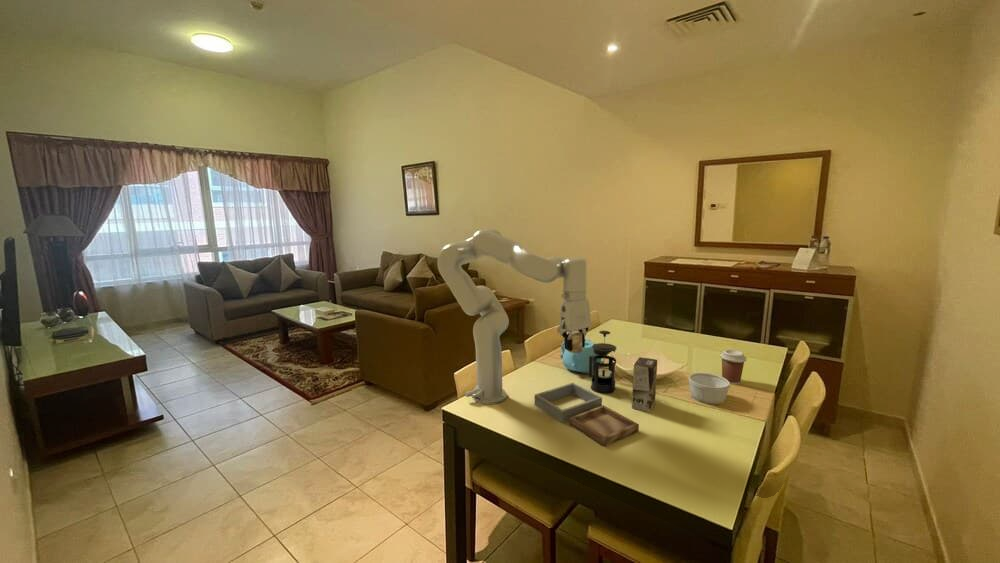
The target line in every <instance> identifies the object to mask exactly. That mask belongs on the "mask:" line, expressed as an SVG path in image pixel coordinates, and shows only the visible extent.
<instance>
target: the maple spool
mask: <svg viewBox="0 0 1000 563" xmlns="http://www.w3.org/2000/svg"><path fill="white" fill-rule="evenodd" d="M567 334H568V331H567ZM571 339H572V351H569V350H567V351H568V352H571V353H579V352H582V332H579V331H578V330H577V331H573V332H572V335H571Z"/></svg>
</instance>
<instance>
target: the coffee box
mask: <svg viewBox="0 0 1000 563" xmlns="http://www.w3.org/2000/svg"><path fill="white" fill-rule="evenodd" d="M632 372H633V376H632V396H631V397H632V398H631V409H635V410H639V411H643V412H646V413H650V412H651V411H652V410H653V407H654V405H655V403H656V394H657V375H658V374H657V373H658V359H654V358H648V357H641V356H639V357H638V358H637V360H636V361H635V362H634V364H633V371H632Z"/></svg>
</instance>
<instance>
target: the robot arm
mask: <svg viewBox="0 0 1000 563" xmlns="http://www.w3.org/2000/svg"><path fill="white" fill-rule="evenodd" d="M484 257H488V258H491V259H493V260H495V261H498V262H500V263H503V264H506V265H508V266H510V267H511V268H512V269H513V270H515V271H517V272H518V273H520V274H522V275H523V276H526V277H528V278H531V279H533V280H535V281H538V282H541V283H548V284H549V283H550V284H551V283H553V282H555V281H556V280H557V279H560V278H561V279H562V292H563V293H562V294H561V298H562V300H561V305H560V312H559V313H560V314H559V325H558V327H557V329H556V332H557V333H558V334H560V336H561V337H562V338H563V339H564V341H563V342H564V349H565V350H569V351H572V339H571V335H572V332H573V331H579V332H582V347H585V339H586V337H585V336H587V332H588V331H589V328H590V327H591V326H592V321H591V308H590V303H589V298H587V260H586V259H585V258H583V257H562V256H549V257H547V258H544V257H541V256H539V255H536V254H533V253H531V252H529V251H528V250H526V249H524V247H523V246H522V244H521V243H520V242H519V241H517V240H514V239H511V238H508V237H506V236H504V235H502V234H501V232H500V231H499V230H497V229H495V228H485V229H480V230H477V231H476V232H475V233H474V234H473V235H472V237H470V238H467V239H465V240H461V241H455V242H452V243H449V244H446V245H445V246H443V248H442V249H441V250H440V252H439V253H438V256H437V261H436V262H437V270H438V272H439V274H440V276H441V277H442V279H443V281H444V282H445V283H446V286H448V288H449V290H450V291H451V293H452V295H453V297H454V298H455V300H456V302H457V303H458V304H459V306H460V307H461V308H460V309H462V312H464V313H465V314H466V315H468V316H476V315H478V314H479V315H480V317H478V319H477V320H476V321H475V322H474V323H473V328H472V335H473V340H474V346H475V365H476V366H475V368H476V370H475V371H476V385H474V387H473V389H472V390H468V391H465V392H464V396H465V397H466V398H469V397H471V399H473V400H474V401H475V402H477V403H479V404H483V405H495V404H499V403H502V402H503V401H505V400H506V399H507V396H508V395H507V393H508V392H507V391H506V390H505V389H503V358H502V357H503V356H502V355H503V354H502V352H503V351H502V345H501V341H500V336H501V335H502V334H503V333H504V332H505V331H506V330H507V329H508V327H509V325H510V324H509V323H510V320H509V316H508V314H507V312H506V311H505V309H504V307H503V305H502V304H501V302H500V301H499V299H498V298H497V297H496V295H495V293H494V292H493V291H492V290H491V288H489V287H488V286H485V285H476V284H475V283H474V281H473V279H472V278H471V276H470V275H469V273H467V272H466V271H465V270H464V269H463V268H462V266H463V265H466V264H469V263H472V262H474V261H475V262H476V260H479V259H482V258H484ZM567 332H568V334H567Z"/></svg>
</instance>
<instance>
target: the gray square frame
mask: <svg viewBox="0 0 1000 563" xmlns="http://www.w3.org/2000/svg"><path fill="white" fill-rule="evenodd" d="M571 395H573V396H574V397H577V398H579V399H580V400H583V401H584V402H581V403H578V404H575V405H572V406H569V407H567V408H564V409H562V408H560V407H558V406H557V405H556V404H554V403H552V402H553V401H555V400H559V399H563V398H565V397H568V396H571ZM602 405H603V397H601V396H599V395H598V394H596V393H593V392H592V391H590V390H588V389H586V388H584V387H582V386H580V385H579V384H576V383H574V382H570V383H567V384H564V385H560V386H559V387H555V388H551V389H548V390H545V391H541V392H539V393H535V394H534V406H535V407H537V408H538V409H540V410H541V411H542V412H544V413H546V414H547V415H548V416H551V417H552V418H553V419H555V420H557V421H558V423H559V422H560V423H561V424H565V423H567V422H570V417H573V416H575V415H578V414H581V413H583V412H586V411H589V410H591V409H594V408H597V407H599V406H602Z"/></svg>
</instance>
